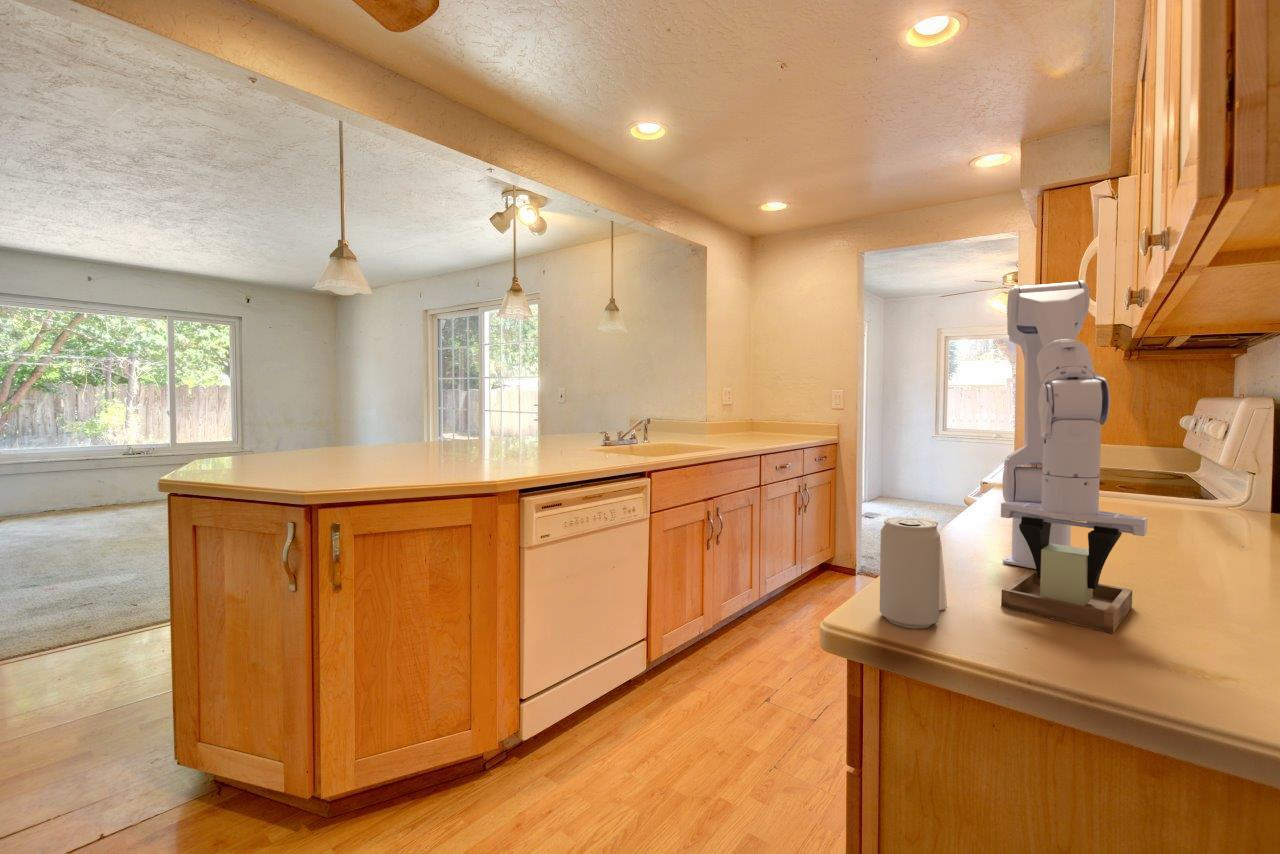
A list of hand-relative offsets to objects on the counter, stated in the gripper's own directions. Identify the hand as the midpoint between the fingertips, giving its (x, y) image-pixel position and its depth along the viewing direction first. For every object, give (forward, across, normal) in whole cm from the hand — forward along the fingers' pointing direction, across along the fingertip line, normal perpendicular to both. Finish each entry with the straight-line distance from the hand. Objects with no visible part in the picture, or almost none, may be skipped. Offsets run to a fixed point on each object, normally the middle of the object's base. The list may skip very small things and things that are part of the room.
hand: (1067, 581), depth 71 cm
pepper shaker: (+3, -12, -12) cm, 18 cm away
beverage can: (+3, -12, -19) cm, 22 cm away
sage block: (+2, 0, 0) cm, 2 cm away
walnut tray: (+3, 0, 0) cm, 3 cm away
